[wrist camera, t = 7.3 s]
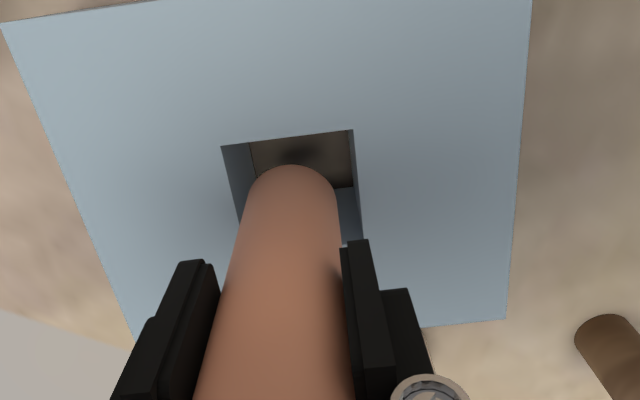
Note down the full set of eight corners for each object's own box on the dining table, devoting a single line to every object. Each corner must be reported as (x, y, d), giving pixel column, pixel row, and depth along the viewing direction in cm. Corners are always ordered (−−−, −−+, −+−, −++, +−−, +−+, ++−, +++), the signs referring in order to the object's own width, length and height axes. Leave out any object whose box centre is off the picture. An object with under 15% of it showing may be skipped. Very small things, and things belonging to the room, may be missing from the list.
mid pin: (634, 311, 26) (719, 401, 20) (624, 351, 27) (701, 445, 22) (578, 317, 26) (647, 408, 20) (571, 357, 27) (634, 451, 22)
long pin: (331, 159, 15) (385, 613, 4) (341, 238, 17) (399, 724, 6) (238, 170, 15) (72, 641, 5) (256, 248, 17) (161, 743, 6)
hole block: (478, -48, 17) (537, -54, 13) (469, 253, 24) (505, 319, 19) (76, 10, 18) (-2, 23, 13) (173, 286, 24) (142, 357, 20)
